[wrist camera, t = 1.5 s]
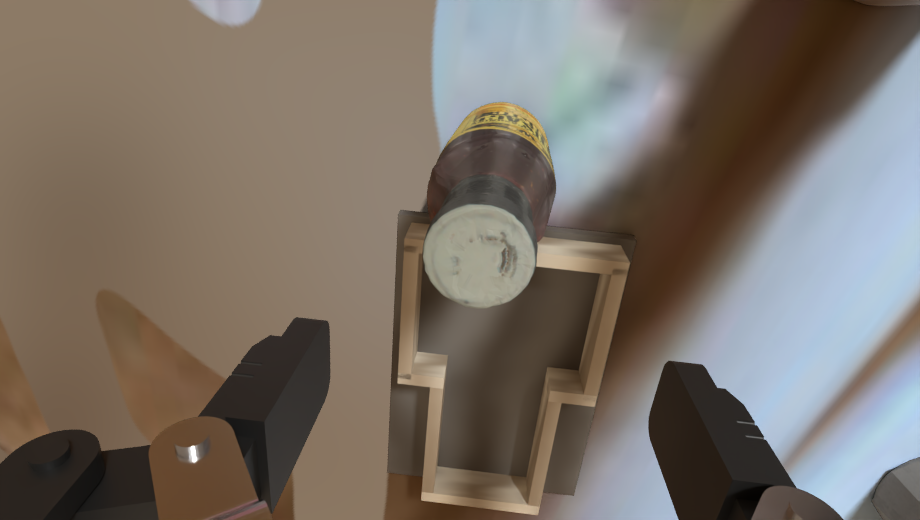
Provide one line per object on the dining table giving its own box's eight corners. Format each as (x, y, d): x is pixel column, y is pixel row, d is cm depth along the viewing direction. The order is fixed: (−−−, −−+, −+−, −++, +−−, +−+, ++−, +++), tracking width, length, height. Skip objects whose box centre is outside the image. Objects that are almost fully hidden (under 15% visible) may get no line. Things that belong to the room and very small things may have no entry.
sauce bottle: (564, 131, 36) (626, 245, 18) (511, 205, 38) (518, 372, 20) (482, 76, 35) (460, 137, 16) (433, 156, 37) (367, 285, 19)
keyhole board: (633, 235, 38) (647, 257, 35) (572, 486, 49) (578, 524, 45) (400, 210, 39) (389, 229, 35) (389, 464, 49) (380, 499, 45)
